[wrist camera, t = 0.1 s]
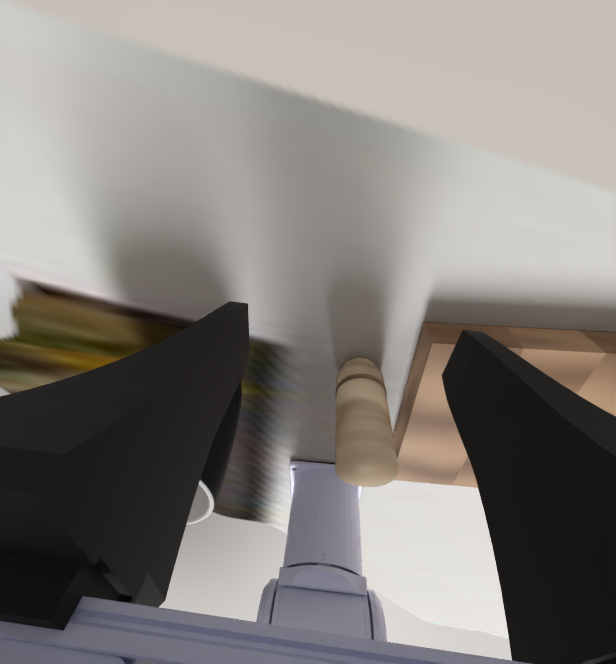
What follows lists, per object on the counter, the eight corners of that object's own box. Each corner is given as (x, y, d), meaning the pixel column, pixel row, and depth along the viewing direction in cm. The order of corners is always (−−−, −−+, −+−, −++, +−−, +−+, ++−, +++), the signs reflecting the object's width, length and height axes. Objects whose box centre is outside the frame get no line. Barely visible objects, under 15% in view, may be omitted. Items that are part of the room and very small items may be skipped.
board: (554, 469, 29) (571, 496, 27) (387, 455, 30) (391, 479, 28) (668, 335, 20) (706, 359, 18) (423, 322, 21) (432, 343, 19)
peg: (378, 389, 25) (393, 490, 18) (334, 386, 25) (332, 484, 18) (385, 355, 23) (405, 454, 16) (337, 352, 23) (336, 448, 16)
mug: (166, 315, 23) (66, 422, 14) (271, 364, 25) (236, 485, 16) (138, 403, 29) (57, 514, 21) (223, 437, 31) (180, 551, 23)
